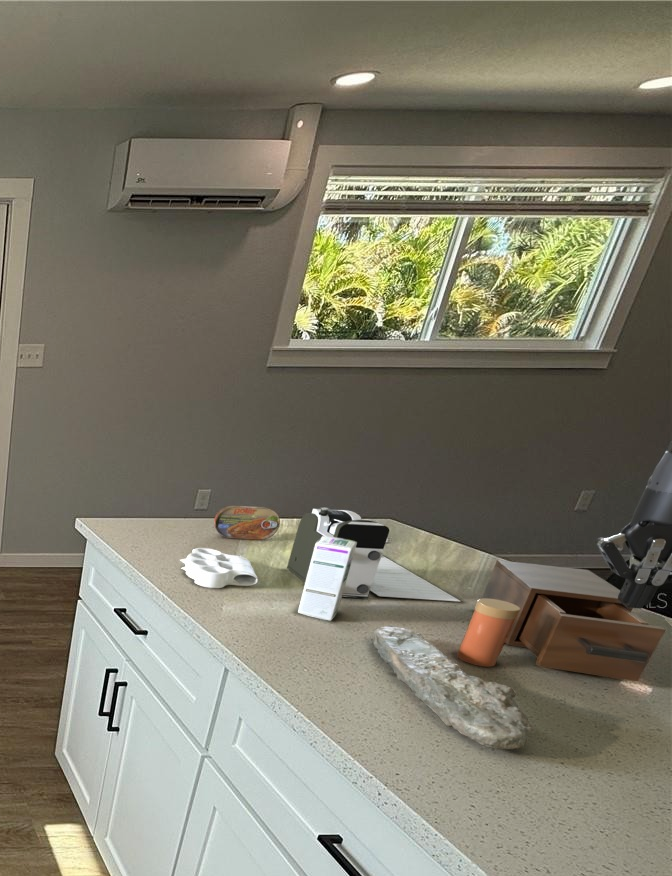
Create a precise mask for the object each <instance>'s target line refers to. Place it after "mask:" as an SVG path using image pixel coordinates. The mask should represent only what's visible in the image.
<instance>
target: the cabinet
mask: <svg viewBox="0 0 672 876" xmlns="http://www.w3.org/2000/svg"><path fill="white" fill-rule="evenodd" d="M620 591H621V589H619V588H617V587H616V586H614V585H613V584H612V583H610V582H608V581H606V580H605V579H604V578H602V577H600V576H599V575H597V574H596V573H594V572H592V571H591V570H589V569H583V568H574V567H564V566H554V565H546V564H536V563H528V562H519V561H508V560H500V559H497V560H496V562H495V564H494V566H493V569H492V571H491V574H490V576H489V579H488V581H487V583H486V586H485V589H484V592H483V594H482V596H481V598H480V599H484V598H487V599H496V600H502V601H506V602H509V603H512V604H514V605H517V606H518V607H519V608H520V611H519V613H518V615H517V617H516V618H515V620H514V622H513V625H512V627H511V629H510V632H509V634H508V636H507V639H506V641H505V643H504V644H506V645H507V646H514V647H521V648H527V649H529V648H528V647H527V646H526V645H525V644H524V643H523V642H522V641H521V640H520V639H519V638H518V637H517V635H518V633H519V631H520V629H521V626H522V624H523V622H524V619H525V617H526V615H527V613H528V610H529V608H530V606H531V603H532V601H533V599H534V597H535V594H536V593H539V594H547V595H555V596H563V597H571V598H579V599H587V600H596V601H604V602H612V603H619V604H620V605H622V604H621V601H620V600H618V595H619V593H620ZM622 606H623V607H625V606H624V605H622ZM625 608H626V609H628V610H629V611H631V612H632V611H633V609H634V608H630V607H625Z"/></svg>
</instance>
